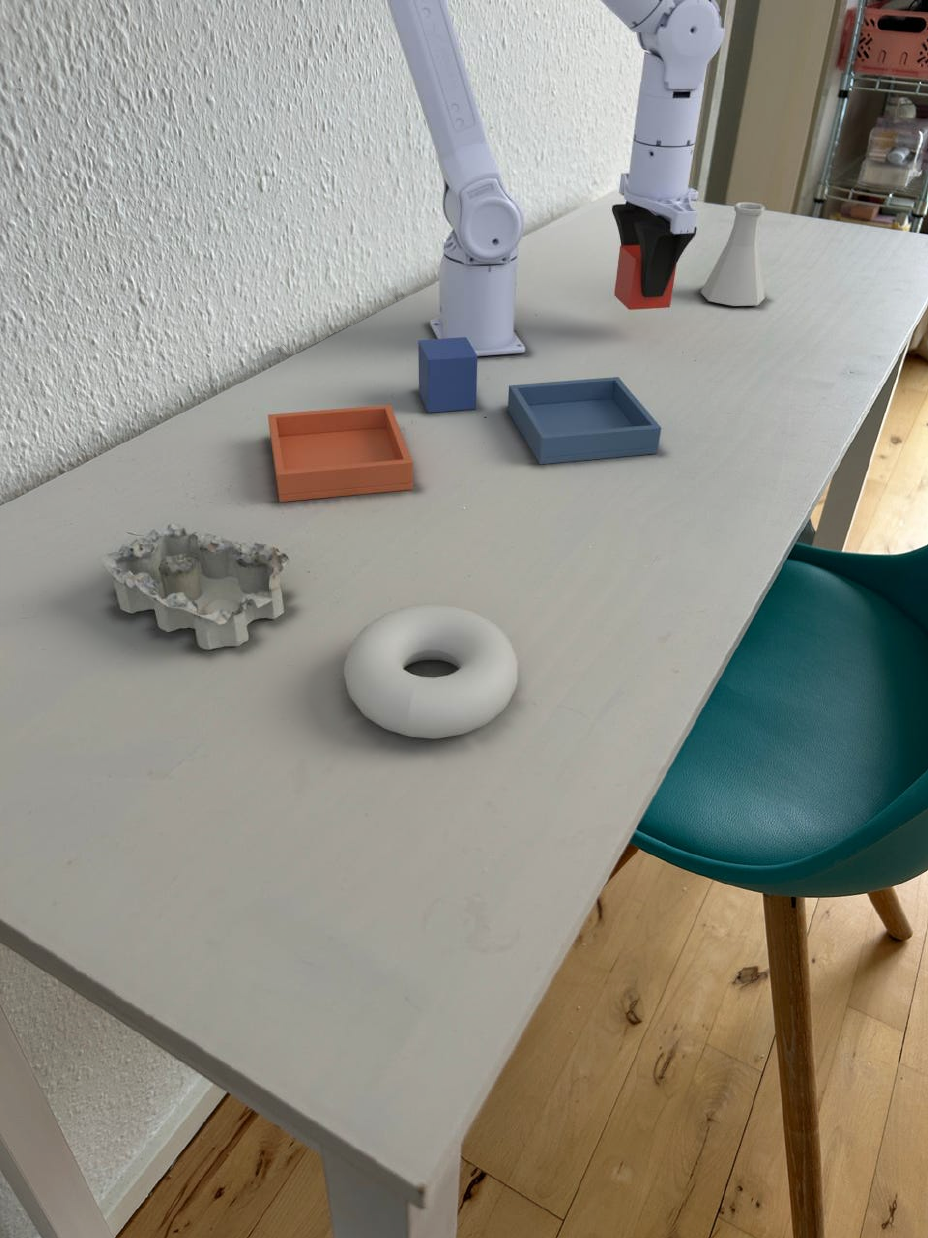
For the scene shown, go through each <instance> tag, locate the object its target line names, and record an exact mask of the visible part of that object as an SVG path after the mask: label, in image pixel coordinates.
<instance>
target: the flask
mask: <svg viewBox="0 0 928 1238" xmlns="http://www.w3.org/2000/svg"><path fill="white" fill-rule="evenodd" d="M733 209H734V212H735V216H734V220H733V225H732V228H731V230H730V234H729V236H728V239H727V242H726V244H725V246H724V248H723V250H722V251H721V254H720V255H719V258H718V259H717V261H716V263H715V265H714V266H713V269H712V270H711V273H709V276H708V278H707V279H706V281H705V283H704V285H703V287H702V288H701V291H700V294H701V295H702V296H703V297H704V298H705V299H706V301H708V302H712V303H716V304H722V305H726V306H732V307H744V306H745V307H746V306H747V307H748V306H759V305H760V304H761V303H762V301H764V299H765V297H766V296H765V288H764V281H763V276H762V275H763V274H762V269H761V260H760V251H759V224H760V220H761V215H763V213H764V212H765V210H766V207H765V206H764V205H762V203H755V202H749V201H748V202H747V201H746V202H737V203H735V204H734V206H733Z"/></svg>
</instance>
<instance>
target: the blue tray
mask: <svg viewBox="0 0 928 1238" xmlns="http://www.w3.org/2000/svg"><path fill="white" fill-rule="evenodd" d="M507 412H508V413H509V415H510V416H511V418H512V419H513V421H514V423H515V425H516V428H517V429H518V430H519V432H520V434H521V435H522V437H523V439H524V440H525V442H526V444H527V445H528V447H529V449H530V451H531V452H532V454H533V455H534V457H535V459H536V460H537V462H538V464H539V465H548V464H549V465H550V464H559V463H570V462H571V463H572V462H580V461H592V460H602V459H612V458H613V459H614V458H624V457H636V456H645V455H646V456H647V455H657V454H658V452H659V446H660V445H659V444H660V439H661V432H662V426H661V425H660V424H659V422H657V421H656V419H655V418H654V416H652V414H651V413H650V412H649V411H648V410H647V409H646V408H645V407H644V405H643V404H642V403H641V401H639V400H638V399H637V396H635V394H633V392H632V391H631V390H630V389H629V388H628V386H627V385H626V384H625V382H624V381H623V380H622V379H620V377H619V376H615V377H614V376H613V377H599V378H586V379H573V380H561V381H548V382H537V383H535V382H534V383H523V384H522V383H521V384H510V385H508V396H507Z"/></svg>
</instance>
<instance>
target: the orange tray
mask: <svg viewBox="0 0 928 1238" xmlns="http://www.w3.org/2000/svg"><path fill="white" fill-rule="evenodd" d="M267 419H268V428H269V429H268V430H269V436H270V437H269V438H270V444H271V451H272V459H273V466H274V472H275V480H276V487H277V493H278V500H279V503H285V502H297V501H307V500H316V499H318V500H319V499H327V498H328V499H329V498H338V497H339V498H340V497H348V496H356V495H357V496H359V495H370V494H378V493H391V492H401V491H410V490H413V489H414V481H413V480H414V478H413V476H414V475H413V474H414V473H413V472H414V470H413V469H414V468H413V460H412V458H411V455H410V452H409V450H408V447H407V444H406V442H405V439H404V437H403V434H402V431H401V429H400V426H399V423H398V420H397V419H396V415H395V413H394V411H393V407H392V405H391V404H385V405H372V406H371V405H370V406H361V407H360V406H359V407H358V406H357V407H346V408H335V409H334V408H331V409H321V410H309V411H308V410H307V411H296V412H284V413H271V414H267Z"/></svg>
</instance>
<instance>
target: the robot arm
mask: <svg viewBox="0 0 928 1238" xmlns="http://www.w3.org/2000/svg"><path fill="white" fill-rule="evenodd" d="M386 2H387V6H388V9H389V12H390V15H391V19H392V21H393V24H394V27H395V31H396V33H397V36H398V40H399V43H400V45H401V48H402V52H403V54H404V58H405V61H406V64H407V67H408V70H409V73H410V76H411V79H412V83H413V86H414V88H415V91H416V95H417V97H418V101H419V104H420V107H421V110H422V113H423V115H424V119H425V122H426V125H427V128H428V131H429V134H430V137H431V140H432V144H433V146H434V149H435V152H436V153H435V154H436V156H437V157H436V158H437V162H438V166H439V171H440V174H441V177H442V178H441V179H442V181H443V193H442V200H441V203H442V211H443V215H444V217H445V219H446V221H447V223H448V224H449V225H450V227H451V229H452V230H451V232H450V233H449V234H448V236H447V238H446V239H445V242H443V246H442V247H443V248H442V249H443V254H442V256H441V259H440V262H439V267H438V269H439V272H438V273H439V274H438V275H439V278H438V279H439V281H438V282H439V283H438V285H439V286H438V287H439V289H438V290H439V291H438V292H439V293H438V294H439V295H438V298H439V299H438V315H439V316H438V318H434V319H431V320H429V325H430V327H431V328H432V331H433V333H434V334H435V336H436V339H445V338H460V337H466V338H467V339H468V341H469V343H470V344H471V346H472V348H473V349H474V351H475V353H476V354H477V356H478V357H483V356H485V357H486V356H499V355H511V354H513V355H514V354H523V353H525V352H526V347H525V345H524V344H523V342H522V341H521V339H520V338H519V337H518V335H517V334H516V333H515V315H516V297H517V278H518V277H517V276H518V260H519V255H518V254H519V244H520V242H521V240H522V238H523V235H524V230H525V218H524V213H523V210H522V208H521V206H520V204H519V203H518V201H517V200H516V199H515V197H513V196H512V195H511V194H510V193H509V192H508V190H507V189H506V187H505V185H504V182H503V179H502V175H501V173H500V170H499V167H498V164H497V162H496V159H495V156H494V155H493V152H492V150H491V147H490V144H489V142H488V139H487V136H486V132H485V128H484V126H483V125H484V124H483V122H482V118H481V116H480V111H479V108H478V105H477V101H476V98H475V95H474V90H473V87H472V84H471V81H470V77H469V74H468V70H467V67H466V64H465V60H464V57H463V53H462V50H461V47H460V44H459V39H458V37H457V32H456V29H455V26H454V23H453V19H452V16H451V13H450V8H449V5H448V3H447V0H386ZM600 2H602V3H603V4H604V5H605V6H606V7H607V8H608V9H609V11H611V13H613V14H614V16H616V17H617V18H618V19H619V20H620V21H621V22H622V23H623V25H625V26H626V27H627V29H628V30H630V31H631V32H633V33H636V38H637V41H638V45H639V46H640V49H642V50H643V51H644V53H643V62H642V70H641V76H640V77H641V78H640V82H639V88H638V97H637V106H636V114H635V120H634V121H635V122H634V130H633V137H632V146H631V153H630V163H629V170H628V171H629V172H622V173H620V180H619V187H618V188H619V189H618V193H619V195H620V196H623V199H624V200H625V203H617V204H613V205H612V206H611V213H612V216H613V217H614V220H615V223H616V226H617V230H618V236H619V240H620V241H619V242H620V246H627V245H640V250H641V291H642V296H644V297H660V296H663V295H664V293H665V290H666V288H667V286H668V283H669V281H670V278H671V275H672V273H673V271H674V268H675V266H676V267H677V265H676V264H678V262H679V260H680V258H681V257H682V255H683V253H684V252H685V249H686V248H687V247H688V245H689V244H690V243H691V241H692V240H693V239H694V238H695V236H696V235H697V229H698V227H697V226H696V222H697V218H698V217H697V216H698V211H697V210H696V209H695V208H694V207H693V204H692V201H696V200H698V198H699V191H698V190H696V189H695V188H694V187H689V184H690V178H691V177H690V176H691V171H692V165H693V158H694V153H695V146H696V141H697V140H696V139H697V135H698V128H699V121H700V116H701V110H702V103H703V97H704V92H705V91H704V90H705V81H706V75H707V69H708V65H709V63H710V61H711V60H712V59H713V58H714V57H715V55H716V54H717V52H718V51H719V49H720V48H721V45H722V43H723V41H724V38H725V34H726V29H725V28H723V26H722V25H723V24H722V16H721V15H720V11H721V9H720V7H719V4H718V2H717V1H716V0H600Z"/></svg>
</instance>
